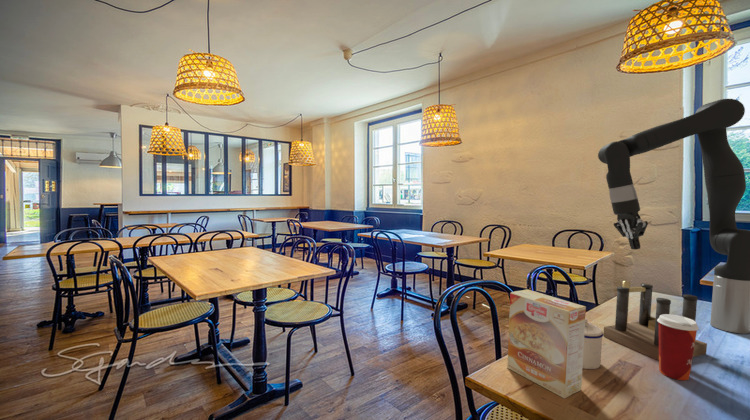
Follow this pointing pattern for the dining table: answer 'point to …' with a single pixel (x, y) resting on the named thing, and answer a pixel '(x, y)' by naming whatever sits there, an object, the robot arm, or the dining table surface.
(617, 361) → the dining table surface
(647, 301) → the grey post frame
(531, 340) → the coffeecake box
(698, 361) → the dining table surface
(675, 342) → the paper cup
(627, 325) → the base with upright pegs
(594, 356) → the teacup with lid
